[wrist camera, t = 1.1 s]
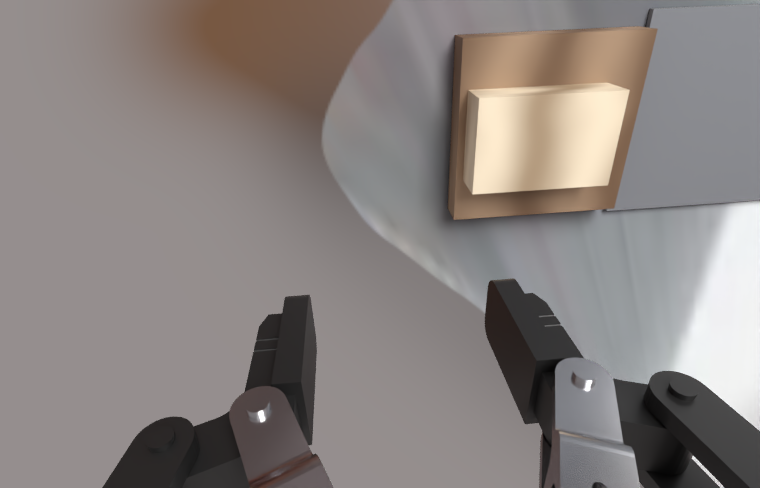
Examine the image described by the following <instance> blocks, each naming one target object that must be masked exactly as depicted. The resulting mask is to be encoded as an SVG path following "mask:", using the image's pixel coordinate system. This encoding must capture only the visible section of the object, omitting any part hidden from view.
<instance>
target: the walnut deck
mask: <svg viewBox="0 0 760 488" xmlns="http://www.w3.org/2000/svg"><path fill="white" fill-rule="evenodd" d="M657 30H658V29H656V28H648V27H639V26H637V27H616V28H594V29H573V30H552V31H530V32H509V33H488V34H466V35H455V50H454V74H453V97H452V121H451V144H450V168H449V191H448V210H449V212H450V213H451V215H452V217H453V219H454V220H458V219H472V218H487V217H501V216H515V215H529V214H543V213H557V212H571V211H585V210H599V209H614V207H615V203H616V199H617V195H618V191H619V187H620V183H621V179H622V174H623V170H624V166H625V162H626V158H627V154H628V150H629V146H630V141H631V137H632V133H633V129H634V125H635V121H636V117H637V113H638V108H639V104H640V100H641V96H642V92H643V88H644V84H645V80H646V75H647V71H648V67H649V63H650V59H651V55H652V51H653V47H654V42H655V38H656V34H657ZM591 83H610V84H613V85H616V86H619V87H622V88H625V89H628V90H630V91H629V96H628V100H627V104H626V109H625V113H624V117H623V122H622V126H621V131H620V135H619V139H618V144H617V148H616V152H615V157H614V161H613V166H612V170H611V174H610V179H609V183H608V185H606V186H592V187H577V188H562V189H547V190H533V191H518V192H503V193H488V194H474V195H472V193H471V192H470V190H469V189H468V187H467V186H466V184H465V183H464V181H463V170H464V153H465V136H466V119H467V102H468V90H480V89H498V88H517V87H535V86H554V85H572V84H591Z"/></svg>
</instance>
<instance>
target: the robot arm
mask: <svg viewBox="0 0 760 488" xmlns="http://www.w3.org/2000/svg"><path fill="white" fill-rule="evenodd" d="M485 330H486V335H487V338H488V341H489V343H490V345H491V348H492V350H493V352H494V354H495V357H496V359H497V361H498V363H499V366H500V368H501V370H502V373H503V375H504V377H505V379H506V382H507V384H508V386H509V389H510V391H511V393H512V396H513V398H514V400H515V402H516V404H517V407H518V409H519V411H520V414H521V416H522V418H523V421H524V423H525V424H530V423H539V425H540V427H541V429H542V435H541V440H540V471H539V488H640V483H641V484H642V485H643V487H644V488H720V487H719V486H718V485H717V484H716V483H715V482H714V481H713V480H712V479H711V478H710V477H709V476H708V475H707V474H706V473H705V472H704V471H703V470H702V469H701V468H700V467H699V466H698V465H697V464H696V463H695V462H694V461H693V460H692V459H691V458H692V456H693V455H694V456H695V457H696V458H697V459H698V460H699V462H700V463H701V464H702V465H703V466H704V467H705V468H706V469H707V470H708V471H709V472H710V473H711V474H712V475H713V476H714V477H715V478H716V479H717V480H718V481H719V482H720V483H721V484H722V485H723V486H724V488H760V431H759V430H757V429H756V428H755V427H754V426H753V425H751V424H750V423H749V422H748V421H747V420H746V419H744V418H743V417H742V416H741V415H740V414H738V413H737V412H736V411H735V410H734V409H732V408H731V407H730V406H729V405H728V404H726V403H725V402H724V401H723V400H722V399H720V398H719V397H718V396H717V395H716V394H715V393H713V392H712V391H711V390H710V389H709V388H707V387H706V386H705V385H704V384H702V383H701V382H699V381H698V380H696V379H694V378H692V377H690V376H688V375H685V374H682V373H679V372H674V371H662V372H658V373H655V374H654V375H653V376H652V377H651V378H650V381H649V384H648V385H647V384H641V383H634V382H628V381H622V380H617V379H613V378H612V376H611V374H610V373H609V372H608V371H607V370H606V369H605V368H604V367H602V366H601V365H599V364H598V363H596V362H593V361H591V360H588V359H584V358H583V356H582V355H581V353H580V352H579V350H578V349H577V347H576V346H575V344H574V343H573V341H572V340H571V338H570V337H569V335H568V334H567V332H566V331H565V330H564V328H563V327H562V326H561V325H560V322H559V321H558V319H557V318H556V316H554V313H553V312H552V310H551V309H550V307H549V306H548V304H547V303H546V302H545V301H543V300H542V299H540V298H539V297H538V296H536V295H535V294H533V293H528V294H524V292H523V290H522V289H521V287H520V286H519V284H518V282H517V281H516V280H515V279H503V280H491V281H490V282H489V284H488V292H487V303H486V313H485ZM256 340H257V342H256V343H255V348H254V352H253V357H252V361H251V366H250V370H249V375H248V379H247V383H246V388H245V392H244V393H243V394H241V395H240V396H239V397H238V398H237V399H236V400H235V401H234V402H233V404H232V406H231V408H230V411H229V412H228V413H226V414H225V415H223V416H221V417H219V418H216V419H214V420H211V421H208V422H205V423H203V424H200V425H197V426H194V427H193V425H192V423H190V421H188V420H187V419H185V418H182V417H168V418H164V419H160V420H158V421H155V422H154V423H152V424H150V425H149V426H147V427H146V428H144V429H143V430H142V431H141V432H140V433H139V434H138V435H137V436H136V437H135V439H134V440H133V441H132V443H131V445H130V446H129V448H128V449H127V451H126V452H125V454H124V455H123V457H122V458H121V460H120V462H119V463H118V465H117V466H116V468H115V469H114V471H113V472H112V474H111V475H110V477H109V478H108V480H107V482H106V483H105V485H104V486H103V488H333V485H332V483H331V481H330V479H329V477H328V475H327V473H326V471H325V468H324V466H323V464H322V462H321V460H320V459H319V457H318V455H316V454H314V455H313V454H312V452H311V450H310V448H309V445H311V444H312V434H313V414H314V394H315V373H316V354H317V348H316V334H315V327H314V319H313V312H312V305H311V298H310V295H302V296H289V297H285V300H284V307H283V313H282V314H271V315H268V316H267V317H266V319H265V320H264V321H263V322H262V324H261V325H260V326H259V330H258V334H257V339H256ZM639 482H640V483H639Z"/></svg>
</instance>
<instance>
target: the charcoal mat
mask: <svg viewBox="0 0 760 488" xmlns="http://www.w3.org/2000/svg"><path fill="white" fill-rule="evenodd" d="M646 27H648V28H656V29H658V30H657V34H656V38H655V42H654V47H653V51H652V55H651V59H650V63H649V67H648V71H647V75H646V80H645V84H644V88H643V92H642V96H641V100H640V104H639V108H638V113H637V117H636V121H635V125H634V129H633V133H632V137H631V141H630V146H629V150H628V154H627V158H626V162H625V166H624V170H623V174H622V179H621V183H620V187H619V191H618V195H617V199H616V203H615V207H614V209H605V210H606V211H614V210H628V209H642V208H657V207H671V206H685V205H699V204H713V203H727V202H741V201H755V200H760V4H743V5H720V6H698V7H675V8H653V9H650V11H649V15H648V20H647V24H646Z"/></svg>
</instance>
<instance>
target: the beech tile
mask: <svg viewBox="0 0 760 488" xmlns="http://www.w3.org/2000/svg"><path fill="white" fill-rule="evenodd" d="M629 91H630V90H628V89H625V88H622V87H619V86H616V85H613V84H610V83H591V84H572V85H554V86H535V87H517V88H498V89H480V90H468V102H467V119H466V136H465V153H464V170H463V181H464V183H465V184H466V186H467V187H468V189H469V190H470V192H471V193H472V195H474V194H488V193H503V192H518V191H533V190H547V189H562V188H577V187H592V186H606V185H608V183H609V179H610V174H611V170H612V166H613V161H614V157H615V152H616V148H617V144H618V139H619V135H620V131H621V126H622V122H623V117H624V113H625V109H626V104H627V100H628V96H629Z"/></svg>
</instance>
